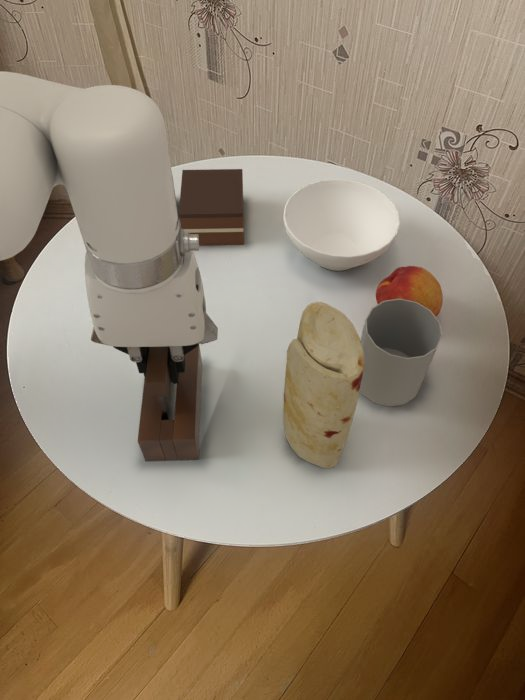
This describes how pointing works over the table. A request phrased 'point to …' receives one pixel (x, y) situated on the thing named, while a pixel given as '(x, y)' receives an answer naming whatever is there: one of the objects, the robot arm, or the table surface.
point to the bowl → (341, 223)
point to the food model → (322, 384)
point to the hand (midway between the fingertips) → (163, 372)
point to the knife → (161, 380)
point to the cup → (397, 350)
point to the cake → (213, 205)
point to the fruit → (412, 288)
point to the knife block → (182, 432)
